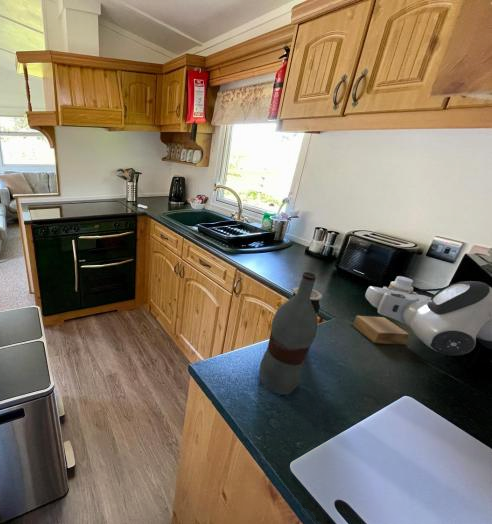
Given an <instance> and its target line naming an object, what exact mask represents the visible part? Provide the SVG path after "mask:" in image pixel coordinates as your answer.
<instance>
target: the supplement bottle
mask: <svg viewBox="0 0 492 524" xmlns="http://www.w3.org/2000/svg"><path fill="white" fill-rule="evenodd" d="M413 283H414V280H413V279H411V278H409V277H405V276H402V275H398V276H396V278H395V280H394V281H390V284H389V286H388V287H389V288H390V289H391V290H394V291H399V292H405V293H410V294H411V293H412V292H414V287H413V286H412V285H413Z"/></svg>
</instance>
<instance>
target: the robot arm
mask: <svg viewBox="0 0 492 524" xmlns="http://www.w3.org/2000/svg"><path fill="white" fill-rule="evenodd" d="M364 294H365V295H364V297H365V299H366V300H367V301H368V302H369V304H370V305H371V306H372V307H374V308H376V309H377V313H378V314H379V315H381V316H383V317H385V318H386V317H387V318H389V319H392V320H395V321H397V322H400V323H401V324H403V325H405V326H407V327H408V328H410V329H411V331H412V332H413V334H414V335H415V336H416V337H417V338H418V339H419V340H420V341H421V342H422V343H423V344H424V345H426V346H427V347H428V348H429V349H431V350H433V351H435V352H437V353H440V354H443V355H448V356H461V355H465V354H468V353H470V352H472V351H473V350H474V349H475V347H476V345H477V341H478V342H479V343H480V344H481V345H482V346H483V347H484V348H486V349H489V350H491V351H492V287H491V286H490V285H489V284H487V283H486V282H483V281H474V280H467V281H466V280H465V281H459V282H454V283H450V284H448V285H446V286H444V287H443V288H441V289H439V290H438V291H437V292H436V293H434V295H432V296H431V297H430V296H428V295H424V294H419V293H417V292H415V291H412V293H411V294H410V293H405V292H399V291H394V290H391V289H390V288H389V286H383V287H378V286H373V285H370V286H368V288H367V289H366V291H365V293H364Z"/></svg>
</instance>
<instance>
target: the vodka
mask: <svg viewBox="0 0 492 524" xmlns="http://www.w3.org/2000/svg"><path fill="white" fill-rule="evenodd" d="M317 278H318V276H317V275H316V274H315V273H313V272H309V271H304V272H303V273H302V276H301V279H300V283H299V286H298V287H299V289H298V292H297V294H296V295H295V296H293V297H292V298H291V299H289V298H288V300H286V301H285V302H284V303H282V304H281V305H280V306H279V307H278V308H277V310H276V312H275V313H274V315H273V318H272V321H271V327H270V335H269V340H268V345H267V347H266V350H265V351H264V354H263V356H262V358H261V361H260V364H259V372H258V373H259V379H260V382H261V384H262V385H263V386H264V387H265V388H266V389H268V390H269V391H270V392H272V393H274V394H278V395H282V396H283V395H284V396H287V395H290V394H292V392H293V391H295V390H296V388H297V387H298V384H299V383H300V381H301V379H302V378H301V377H302V373H303V365H304V361H305V359H306V357H307V354H308V352H309V350H310V348H311V346H312V344H313V342H314V341H315V339H316V336H317V330H318V315H316V313H315V310H314V308H313V305H312V303H311V300H310V296H311V292H312V289H313V290H314V286H315V281H316V279H317Z"/></svg>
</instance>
